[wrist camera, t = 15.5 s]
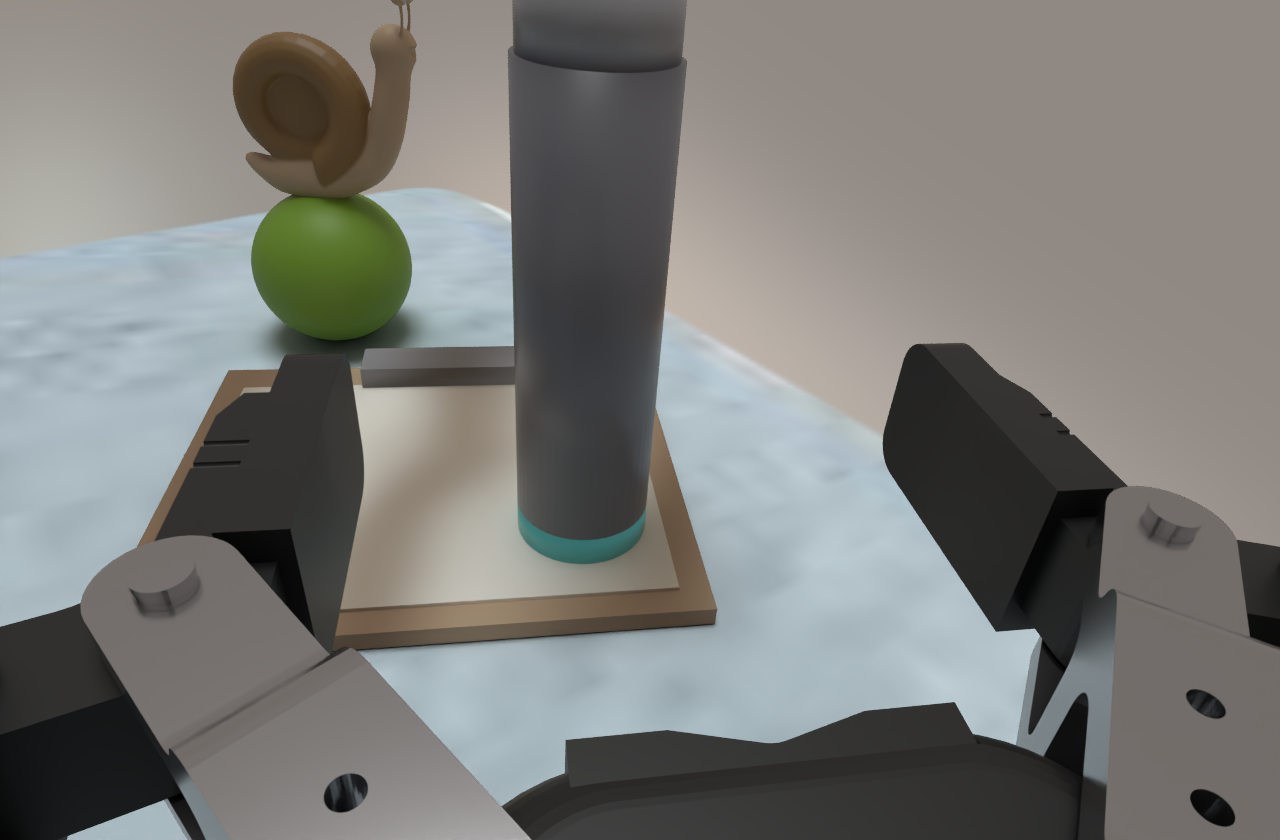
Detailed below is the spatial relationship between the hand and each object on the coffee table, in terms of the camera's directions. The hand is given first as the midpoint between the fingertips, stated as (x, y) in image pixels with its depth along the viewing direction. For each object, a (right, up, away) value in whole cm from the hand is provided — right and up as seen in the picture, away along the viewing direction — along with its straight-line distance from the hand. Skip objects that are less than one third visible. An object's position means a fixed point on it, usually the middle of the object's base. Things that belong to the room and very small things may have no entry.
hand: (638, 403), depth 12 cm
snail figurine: (-11, +3, +19) cm, 22 cm away
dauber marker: (-2, -3, +10) cm, 11 cm away
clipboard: (-6, -2, +12) cm, 13 cm away
